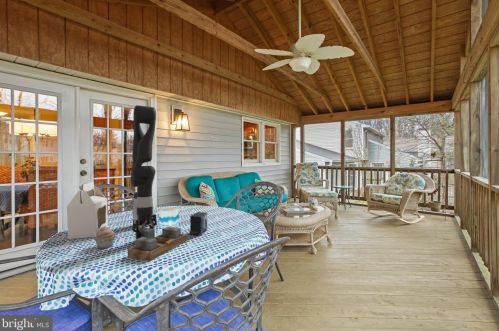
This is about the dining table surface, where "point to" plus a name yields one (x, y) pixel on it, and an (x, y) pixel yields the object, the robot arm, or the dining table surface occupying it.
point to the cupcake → (105, 237)
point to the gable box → (87, 212)
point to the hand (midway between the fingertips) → (145, 237)
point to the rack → (157, 244)
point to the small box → (198, 223)
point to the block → (147, 233)
